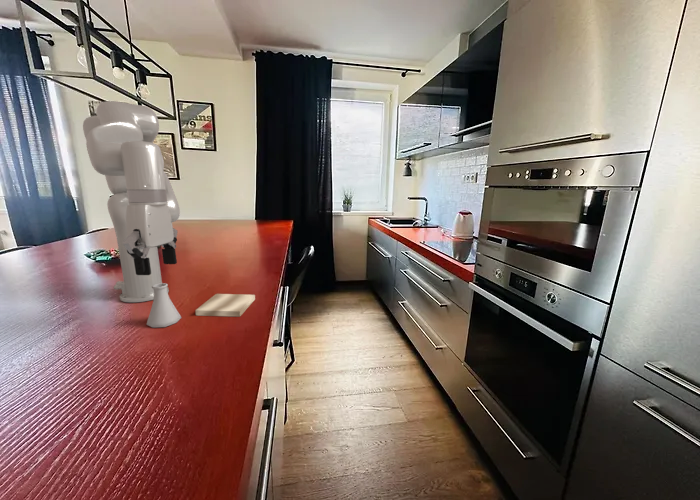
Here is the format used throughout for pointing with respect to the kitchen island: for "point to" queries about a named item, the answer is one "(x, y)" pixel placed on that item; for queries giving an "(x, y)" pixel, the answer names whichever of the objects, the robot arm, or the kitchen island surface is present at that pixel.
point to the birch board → (225, 305)
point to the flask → (162, 308)
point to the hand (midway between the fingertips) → (158, 269)
